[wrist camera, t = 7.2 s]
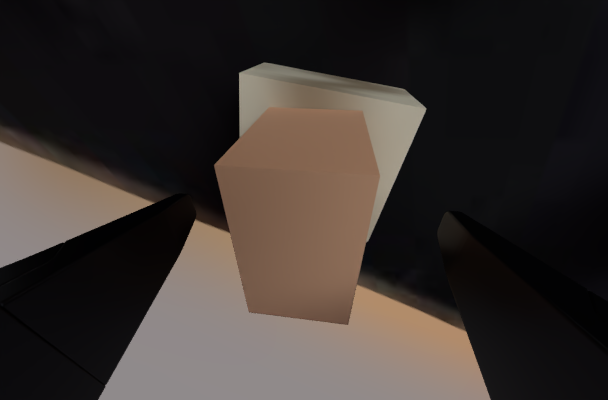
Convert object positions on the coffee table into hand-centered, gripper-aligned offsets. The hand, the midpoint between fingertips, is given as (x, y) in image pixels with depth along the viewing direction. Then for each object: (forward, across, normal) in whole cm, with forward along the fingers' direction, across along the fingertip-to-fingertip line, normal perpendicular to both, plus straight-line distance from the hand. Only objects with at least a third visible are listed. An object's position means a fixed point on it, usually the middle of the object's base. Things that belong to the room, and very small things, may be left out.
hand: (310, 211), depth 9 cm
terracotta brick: (+3, 0, 0) cm, 3 cm away
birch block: (+7, 0, 0) cm, 7 cm away
